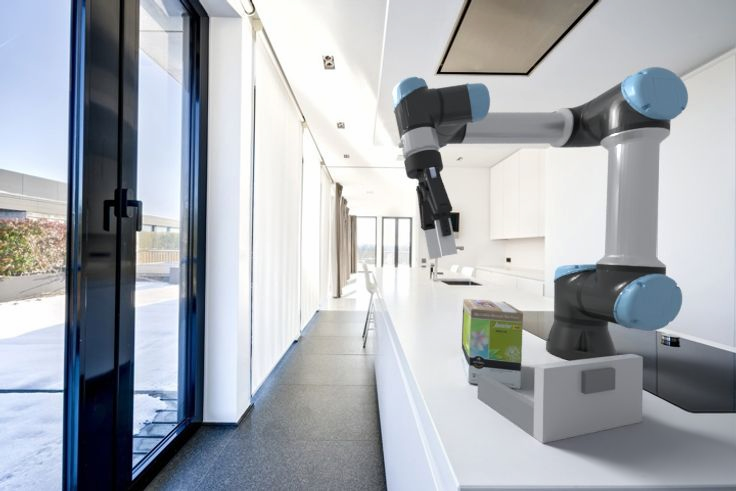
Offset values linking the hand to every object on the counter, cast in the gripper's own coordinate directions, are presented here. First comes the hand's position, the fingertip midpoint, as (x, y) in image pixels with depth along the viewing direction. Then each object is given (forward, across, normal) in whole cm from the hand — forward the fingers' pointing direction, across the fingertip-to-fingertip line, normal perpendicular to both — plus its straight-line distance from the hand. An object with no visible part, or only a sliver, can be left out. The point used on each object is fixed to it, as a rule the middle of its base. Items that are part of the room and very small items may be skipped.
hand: (441, 257), depth 63 cm
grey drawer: (+28, +8, +12) cm, 31 cm away
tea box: (+26, -7, +6) cm, 28 cm away
